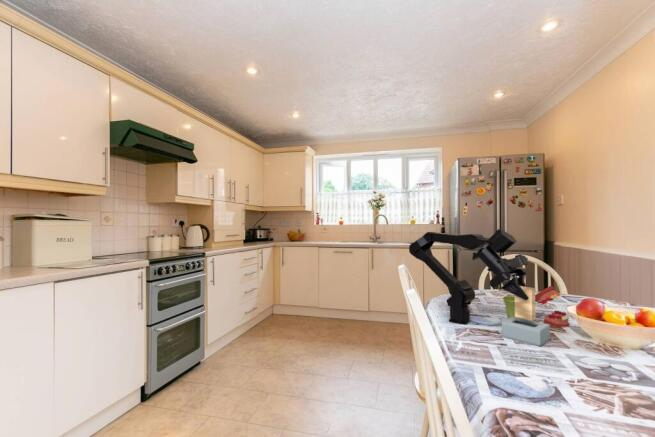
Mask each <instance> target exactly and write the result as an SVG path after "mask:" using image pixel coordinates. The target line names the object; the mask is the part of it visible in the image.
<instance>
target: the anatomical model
mask: <svg viewBox="0 0 655 437" xmlns="http://www.w3.org/2000/svg"><path fill="white" fill-rule="evenodd" d="M560 296H561V294H560V292H558V291H557V290H556V289H555V288H554V287H553V286H552V285H549V286H547V287H545V288H544V289H542V290H541V291H539V292H538V293H537V294H536V293H535V303H538V304H542V305H546V304H548V302H551V301H553V300H555V299H556V298H558V297H560ZM569 317H570V315H569V313H566V312H564V311H559V310H554V312H551V313H550V314H548V315H546V316H545V317H544V319H543V323H545V324H550V327H555V328H556V327H557V328H569V327H570V323H569Z"/></svg>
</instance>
